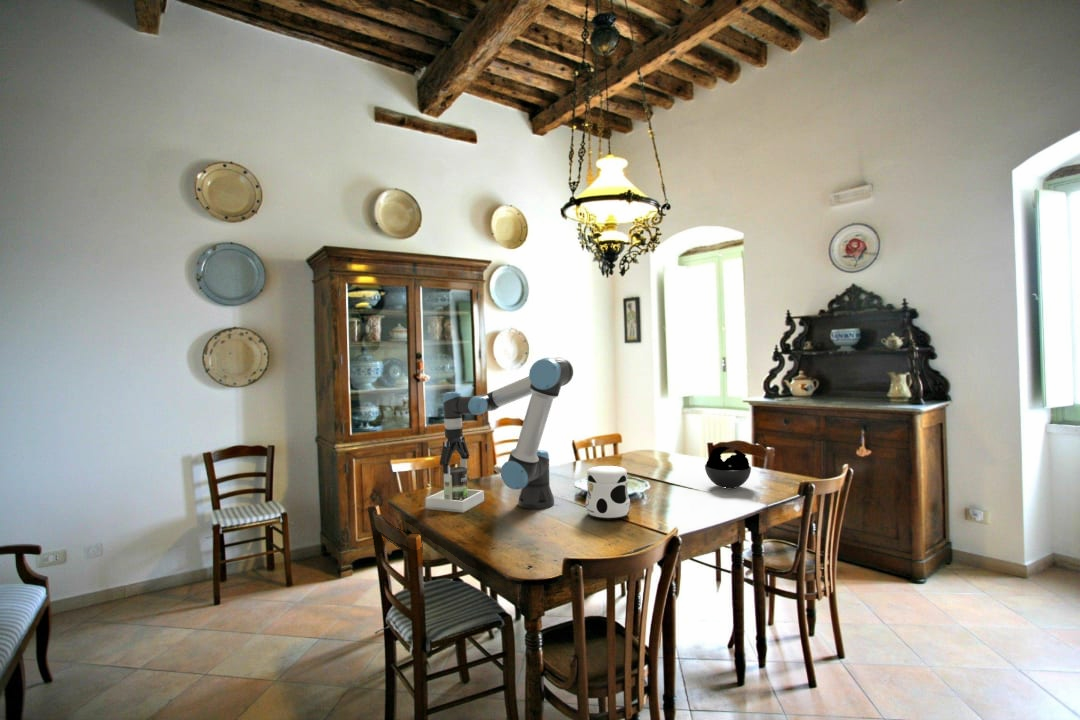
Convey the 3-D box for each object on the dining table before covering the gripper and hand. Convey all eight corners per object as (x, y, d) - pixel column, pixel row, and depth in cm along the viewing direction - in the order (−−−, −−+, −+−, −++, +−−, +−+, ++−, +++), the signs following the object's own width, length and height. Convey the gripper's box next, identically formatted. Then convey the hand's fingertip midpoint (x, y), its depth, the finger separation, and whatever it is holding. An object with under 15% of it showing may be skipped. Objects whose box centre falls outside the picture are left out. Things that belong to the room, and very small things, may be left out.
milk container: (578, 513, 214) (577, 468, 214) (615, 507, 221) (614, 463, 221) (599, 525, 199) (598, 477, 198) (639, 518, 205) (638, 471, 205)
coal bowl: (702, 482, 258) (701, 443, 258) (745, 482, 255) (744, 443, 255) (709, 493, 238) (708, 451, 238) (756, 494, 235) (755, 451, 235)
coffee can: (471, 499, 235) (470, 467, 235) (463, 505, 225) (462, 472, 225) (449, 498, 237) (448, 466, 237) (440, 505, 227) (439, 471, 227)
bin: (484, 500, 236) (484, 490, 236) (463, 512, 219) (462, 501, 219) (449, 497, 243) (448, 487, 242) (425, 508, 226) (425, 498, 226)
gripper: (461, 424, 243) (463, 470, 243) (429, 432, 220) (431, 483, 220) (475, 424, 240) (477, 471, 240) (445, 432, 217) (447, 484, 217)
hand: (455, 477), depth 230 cm, fingers open, 13 cm apart
